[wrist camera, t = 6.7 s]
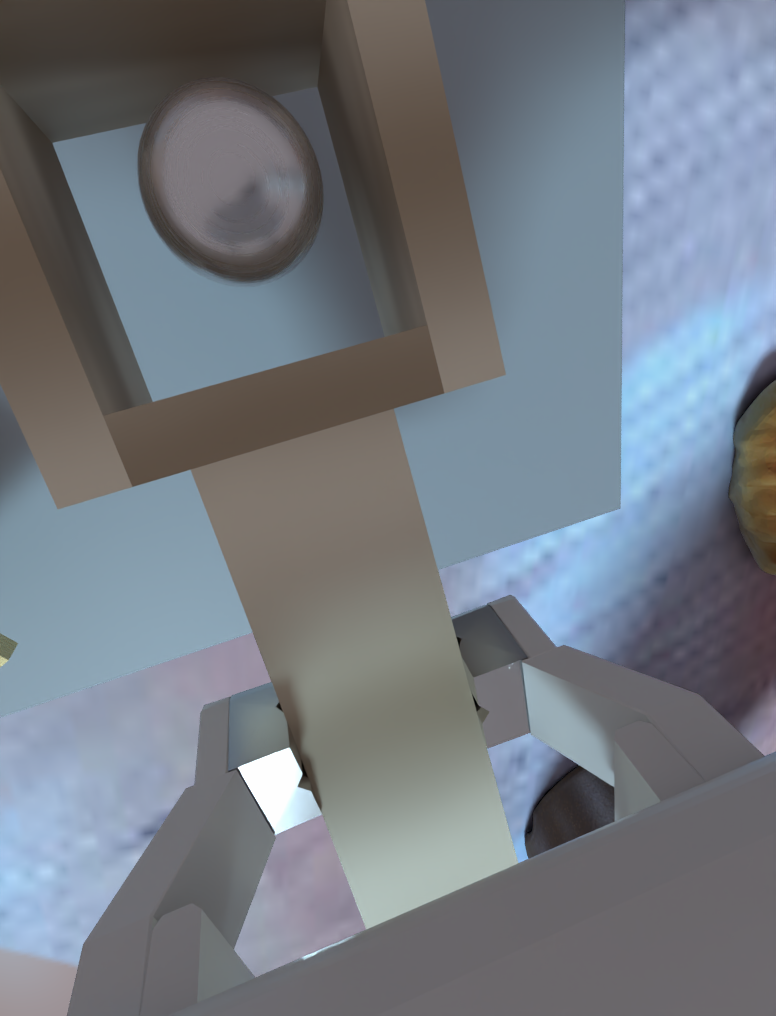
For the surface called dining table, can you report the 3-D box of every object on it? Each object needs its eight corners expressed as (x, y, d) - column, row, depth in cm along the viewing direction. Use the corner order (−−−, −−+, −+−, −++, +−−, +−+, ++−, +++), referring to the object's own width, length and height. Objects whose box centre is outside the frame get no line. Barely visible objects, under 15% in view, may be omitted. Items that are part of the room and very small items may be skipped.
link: (-39, 87, 8) (-214, -84, 5) (354, 10, 9) (387, -174, 6) (279, 851, 12) (277, 992, 9) (536, 747, 13) (608, 846, 10)
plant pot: (431, 858, 29) (608, 1423, 15) (644, 662, 26) (1110, 1136, 12) (587, 906, 37) (801, 1311, 23) (765, 758, 34) (1138, 1118, 20)
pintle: (268, 153, 13) (304, 26, 6) (297, 259, 14) (357, 267, 7) (171, 175, 12) (76, 71, 5) (208, 281, 14) (173, 314, 6)
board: (610, -86, 13) (625, -101, 12) (610, 501, 21) (620, 508, 20) (-634, 139, 10) (-684, 133, 9) (-62, 727, 18) (-71, 741, 17)
